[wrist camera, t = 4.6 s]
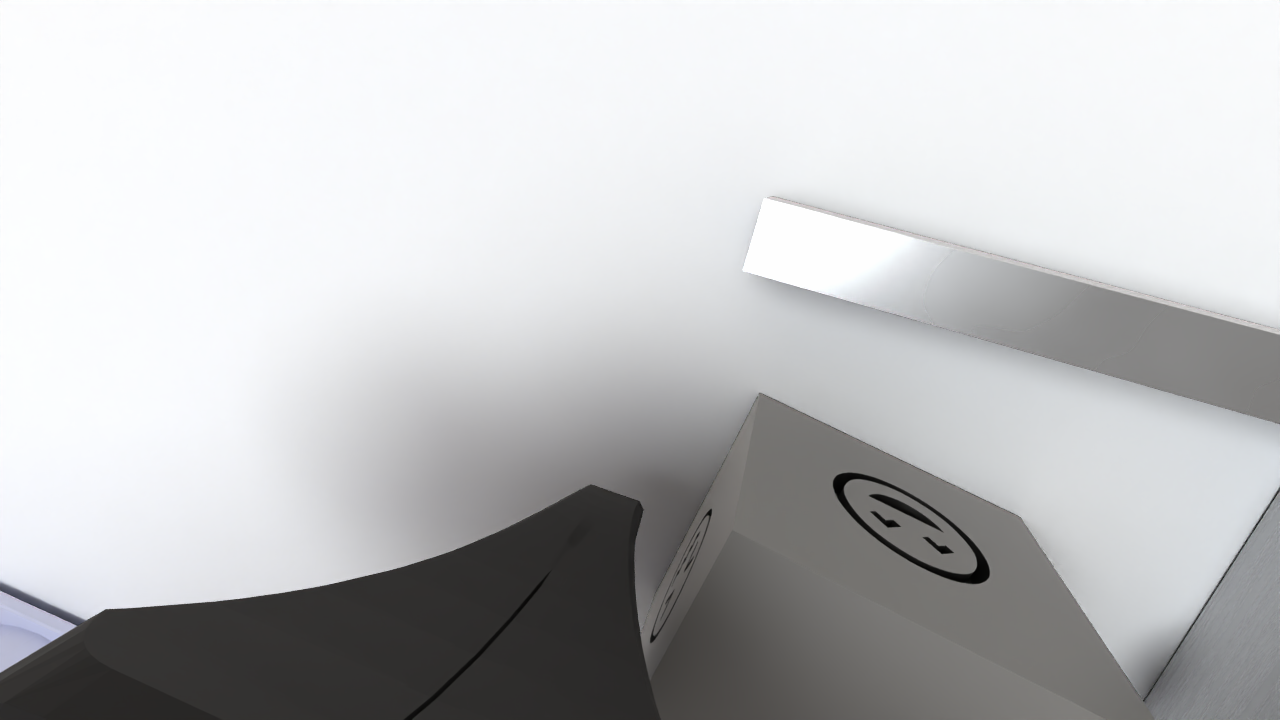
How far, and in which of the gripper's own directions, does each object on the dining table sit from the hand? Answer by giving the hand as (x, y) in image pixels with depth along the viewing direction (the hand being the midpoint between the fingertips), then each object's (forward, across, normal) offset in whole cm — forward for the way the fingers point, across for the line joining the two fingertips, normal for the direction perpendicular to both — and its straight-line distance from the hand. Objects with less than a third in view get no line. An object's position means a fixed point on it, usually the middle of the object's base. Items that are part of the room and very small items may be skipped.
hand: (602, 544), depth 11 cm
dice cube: (+3, -4, 0) cm, 5 cm away
